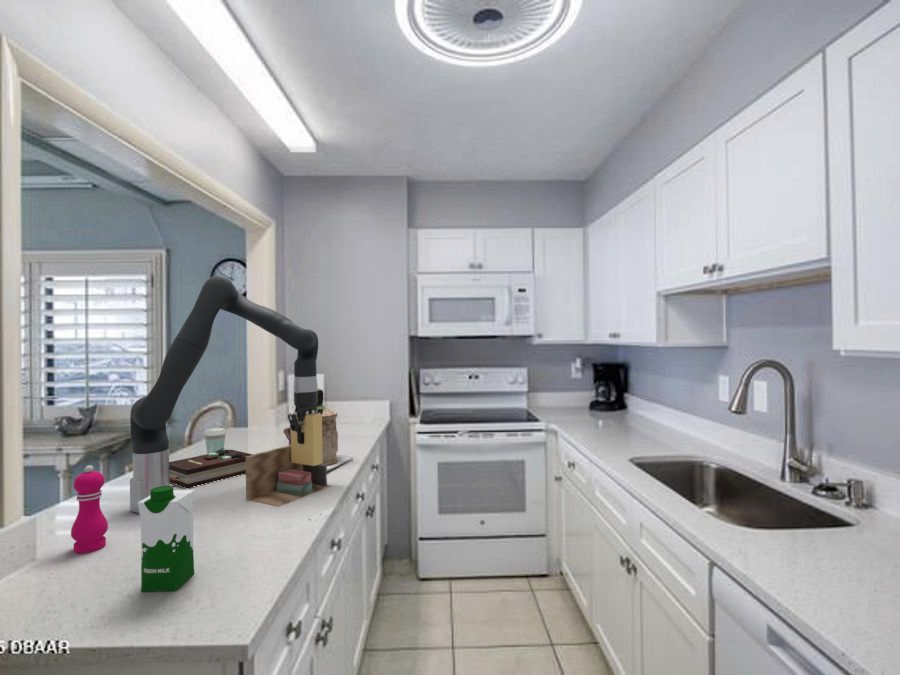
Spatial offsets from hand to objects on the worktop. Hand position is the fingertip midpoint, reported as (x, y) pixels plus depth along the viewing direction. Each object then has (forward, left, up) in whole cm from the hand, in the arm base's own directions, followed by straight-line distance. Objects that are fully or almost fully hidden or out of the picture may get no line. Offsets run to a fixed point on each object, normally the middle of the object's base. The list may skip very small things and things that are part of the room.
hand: (306, 441), depth 158 cm
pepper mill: (-56, +15, -16) cm, 60 cm away
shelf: (-7, 0, -16) cm, 17 cm away
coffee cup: (+16, +70, -16) cm, 74 cm away
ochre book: (0, 0, -7) cm, 7 cm away
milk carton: (-57, -19, -16) cm, 62 cm away
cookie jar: (+26, +23, -17) cm, 38 cm away
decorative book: (-3, +46, -17) cm, 49 cm away
